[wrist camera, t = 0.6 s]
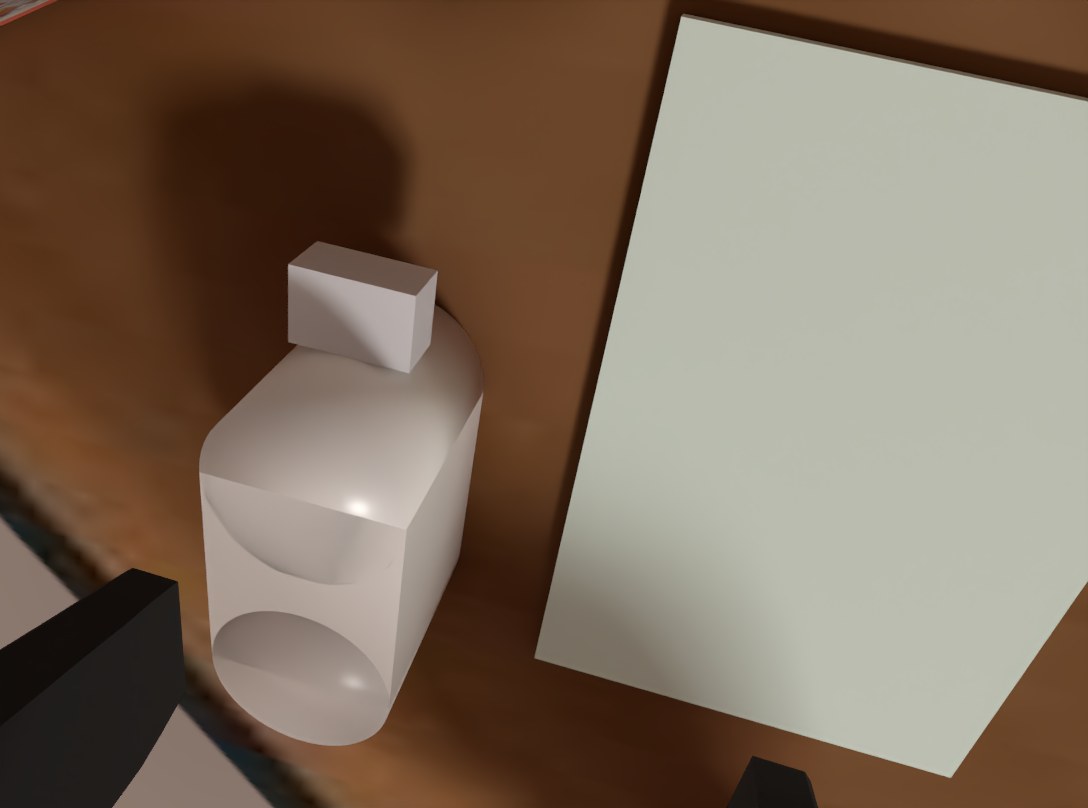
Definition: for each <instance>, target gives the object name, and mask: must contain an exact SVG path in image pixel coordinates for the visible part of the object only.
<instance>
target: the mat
mask: <svg viewBox="0 0 1088 808" xmlns="http://www.w3.org/2000/svg"><path fill="white" fill-rule="evenodd" d="M1087 581H1088V98H1085V97H1081V96H1076V95H1071V94H1066V93H1061V92H1057V91H1052V90H1047V89H1042V88H1038V87H1033V86H1028V85H1023V84H1018V83H1014V82H1009V81H1004V80H999V79H994V78H990V77H985V76H980V75H975V74H970V73H966V72H961V71H956V70H951V69H947V68H942V67H937V66H932V65H927V64H923V63H918V62H913V61H908V60H903V59H899V58H894V57H889V56H884V55H880V54H875V53H870V52H865V51H860V50H856V49H851V48H846V47H841V46H836V45H832V44H827V43H822V42H817V41H812V40H808V39H803V38H798V37H793V36H789V35H784V34H779V33H774V32H769V31H765V30H760V29H755V28H750V27H745V26H741V25H736V24H731V23H726V22H722V21H717V20H712V19H707V18H702V17H698V16H693V15H688V14H683V15H682V16H681V20H680V24H679V29H678V33H677V38H676V42H675V46H674V51H673V55H672V59H671V64H670V68H669V72H668V77H667V81H666V86H665V90H664V94H663V99H662V103H661V107H660V112H659V116H658V120H657V125H656V129H655V134H654V138H653V142H652V147H651V151H650V155H649V160H648V164H647V168H646V173H645V177H644V182H643V186H642V190H641V195H640V199H639V203H638V208H637V212H636V217H635V221H634V225H633V230H632V234H631V238H630V243H629V247H628V251H627V256H626V260H625V265H624V269H623V273H622V278H621V282H620V286H619V291H618V295H617V299H616V304H615V308H614V313H613V317H612V321H611V326H610V330H609V334H608V339H607V343H606V347H605V352H604V356H603V361H602V365H601V369H600V374H599V378H598V382H597V387H596V391H595V395H594V400H593V404H592V409H591V413H590V417H589V422H588V426H587V430H586V435H585V439H584V444H583V448H582V452H581V457H580V461H579V465H578V470H577V474H576V478H575V483H574V487H573V492H572V496H571V500H570V505H569V509H568V513H567V518H566V522H565V526H564V531H563V535H562V540H561V544H560V548H559V553H558V557H557V561H556V566H555V570H554V574H553V579H552V583H551V588H550V592H549V596H548V601H547V605H546V609H545V614H544V618H543V623H542V627H541V631H540V636H539V640H538V644H537V649H536V653H535V657H534V658H535V659H539V660H542V661H546V662H549V663H553V664H556V665H560V666H563V667H567V668H570V669H574V670H577V671H581V672H584V673H587V674H591V675H594V676H598V677H601V678H605V679H608V680H612V681H615V682H619V683H622V684H626V685H629V686H633V687H636V688H640V689H643V690H647V691H650V692H654V693H657V694H661V695H664V696H668V697H671V698H675V699H678V700H681V701H685V702H688V703H692V704H695V705H699V706H702V707H706V708H709V709H713V710H716V711H720V712H723V713H727V714H730V715H734V716H737V717H741V718H744V719H748V720H751V721H755V722H758V723H762V724H765V725H769V726H772V727H776V728H779V729H782V730H786V731H789V732H793V733H796V734H800V735H803V736H807V737H810V738H814V739H817V740H821V741H824V742H828V743H831V744H835V745H838V746H842V747H845V748H849V749H852V750H856V751H859V752H863V753H866V754H870V755H873V756H877V757H880V758H883V759H887V760H890V761H894V762H897V763H901V764H904V765H908V766H911V767H915V768H918V769H922V770H925V771H929V772H932V773H936V774H939V775H943V776H946V777H950V778H951V777H952V775H953V774H954V772H955V771H956V770H957V768H958V767H959V765H960V764H961V762H962V761H963V759H964V758H965V757H966V755H967V754H968V752H969V751H970V749H971V748H972V747H973V745H974V744H975V742H976V741H977V739H978V738H979V736H980V735H981V734H982V732H983V731H984V729H985V728H986V726H987V725H988V724H989V722H990V721H991V719H992V718H993V716H994V715H995V713H996V712H997V711H998V709H999V708H1000V706H1001V705H1002V703H1003V702H1004V701H1005V699H1006V698H1007V696H1008V695H1009V693H1010V692H1011V690H1012V689H1013V688H1014V686H1015V685H1016V683H1017V682H1018V680H1019V679H1020V678H1021V676H1022V675H1023V673H1024V672H1025V670H1026V669H1027V667H1028V666H1029V665H1030V663H1031V662H1032V660H1033V659H1034V657H1035V656H1036V654H1037V653H1038V652H1039V650H1040V649H1041V647H1042V646H1043V644H1044V643H1045V642H1046V640H1047V639H1048V637H1049V636H1050V634H1051V633H1052V631H1053V630H1054V629H1055V627H1056V626H1057V624H1058V623H1059V621H1060V620H1061V619H1062V617H1063V616H1064V614H1065V613H1066V611H1067V610H1068V608H1069V607H1070V606H1071V604H1072V603H1073V601H1074V600H1075V598H1076V597H1077V596H1078V594H1079V593H1080V591H1081V590H1082V588H1083V587H1084V585H1085V584H1086V583H1087Z"/></svg>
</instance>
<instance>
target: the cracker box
mask: <svg viewBox="0 0 1088 808" xmlns="http://www.w3.org/2000/svg"><path fill="white" fill-rule="evenodd" d="M55 1H57V0H0V26H2V25H4V24H7V23H9V22H11V21H13V20H15V19H18V18H20V17H22V16H24V15H27V14H29V13H31V12H33V11H35V10H38V9H40V8H42V7H44V6H46V5H49V4H51V3H53V2H55Z"/></svg>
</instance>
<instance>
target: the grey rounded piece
mask: <svg viewBox="0 0 1088 808" xmlns="http://www.w3.org/2000/svg"><path fill="white" fill-rule="evenodd" d="M437 274H438V270H434V269H430V268H425V267H421V266H417V265H413V264H409V263H405V262H401V261H397V260H393V259H389V258H385V257H381V256H377V255H373V254H369V253H364V252H360V251H356V250H352V249H348V248H344V247H340V246H336V245H332V244H328V243H324V242H320V241H317V242H315V243H314V244H313V245H312V246H310V247H309V248H308V249H307V250H305V251H304V252H303V253H302V254H300V255H299V256H298V257H297V258H295V259H294V260H293V261H292V262H290V263H289V264H288V342H290V343H294V344H298V345H297V346H296V347H295V348H294V349H293V350H292V351H291V352H290V353H289V354H288V355H287V356H286V357H285V358H283V359H282V360H281V361H280V362H279V363H278V364H277V365H276V366H275V367H274V368H273V369H272V370H271V371H270V372H269V373H268V374H267V375H266V376H265V377H264V378H263V379H262V380H261V381H260V382H259V383H258V384H257V385H256V386H255V387H254V388H253V389H252V390H251V391H250V392H249V393H248V394H247V395H246V396H245V397H244V398H243V399H242V400H241V401H240V402H239V403H238V404H237V405H236V406H235V407H234V408H233V409H232V410H231V411H230V412H229V413H228V414H226V415H225V416H224V417H223V418H222V419H221V420H220V421H219V422H218V423H217V424H216V426H215V427H214V428H213V429H212V430H211V431H210V433H209V434H208V436H207V438H206V439H205V441H204V444H203V447H202V450H201V454H200V460H199V476H200V490H201V504H202V518H203V532H204V546H205V560H206V574H207V588H208V603H209V617H210V631H211V645H212V657H213V663H214V667H215V670H216V673H217V675H218V677H219V679H220V681H221V683H222V684H223V686H224V687H225V689H226V690H227V692H228V693H229V694H230V695H231V697H232V698H233V699H234V700H235V701H236V702H237V703H238V704H239V705H240V706H241V707H242V708H243V709H244V710H245V711H247V712H248V713H249V714H250V715H252V716H253V717H254V718H256V719H257V720H258V721H260V722H262V723H263V724H265V725H266V726H268V727H270V728H272V729H274V730H276V731H277V732H280V733H282V734H284V735H287V736H289V737H292V738H295V739H298V740H301V741H305V742H309V743H313V744H319V745H329V746H341V745H349V744H354V743H358V742H361V741H363V740H366V739H368V738H370V737H371V736H373V735H374V734H375V733H376V732H378V731H379V730H380V729H381V727H382V726H383V724H384V723H385V721H386V719H387V716H388V714H389V712H390V710H391V708H392V705H393V703H394V701H395V699H396V697H397V694H398V692H399V690H400V688H401V686H402V683H403V681H404V679H405V677H406V675H407V672H408V670H409V668H410V666H411V664H412V661H413V659H414V657H415V655H416V653H417V650H418V648H419V646H420V644H421V642H422V639H423V637H424V635H425V633H426V631H427V628H428V626H429V624H430V622H431V620H432V617H433V615H434V613H435V611H436V609H437V606H438V604H439V602H440V600H441V598H442V595H443V593H444V591H445V589H446V587H447V584H448V582H449V580H450V578H451V576H452V573H453V571H454V569H455V567H456V564H457V562H458V559H459V555H460V548H461V542H462V535H463V528H464V521H465V514H466V507H467V500H468V493H469V487H470V480H471V473H472V466H473V459H474V452H475V445H476V438H477V431H478V425H479V418H480V411H481V404H482V397H483V388H484V377H483V369H482V364H481V361H480V358H479V355H478V352H477V350H476V348H475V346H474V344H473V342H472V340H471V339H470V337H469V336H468V334H467V333H466V331H465V330H464V329H463V328H462V327H461V326H460V324H459V323H458V322H457V321H456V320H455V319H454V318H453V317H452V316H450V315H449V314H448V313H447V312H446V311H444V310H443V309H441V308H440V307H439V306H437V305H435V304H434V303H435V293H436V284H437Z"/></svg>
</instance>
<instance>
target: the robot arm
mask: <svg viewBox="0 0 1088 808" xmlns="http://www.w3.org/2000/svg"><path fill="white" fill-rule="evenodd" d="M185 691H186V684H185V670H184V657H183V643H182V629H181V616H180V602H179V589H178V581H174V580H171V579H168V578H164V577H161V576H158V575H155V574H151V573H148V572H145V571H141V570H138V569H135V568H132V569H130V570H128V571H126V572H124V573H123V574H121V575H120V576H118V577H116V578H115V579H113V580H111V581H110V582H108V583H106V584H105V585H103V586H102V587H100V588H98V589H97V590H95V591H94V592H92V593H90V594H89V595H87V596H86V597H84V598H82V599H81V600H79V601H78V602H76V603H74V604H73V605H71V606H70V607H68V608H66V609H65V610H63V611H62V612H60V613H58V614H57V615H55V616H54V617H52V618H51V619H49V620H47V621H46V622H44V623H42V624H41V625H40V626H38V627H36V628H34V629H33V630H31V631H30V632H28V633H26V634H25V635H23V636H21V637H20V638H18V639H17V640H15V641H14V642H12V643H10V644H9V645H7V646H5V647H4V648H2V649H1V650H0V808H112V807H113V806H114V804H115V803H116V802H117V800H118V799H119V797H120V796H121V795H122V793H123V792H124V791H125V789H126V788H127V786H128V785H129V784H130V782H131V781H132V779H133V778H134V777H135V775H136V774H137V772H138V771H139V770H140V768H141V767H142V765H143V764H144V762H145V760H146V759H147V757H148V755H149V753H150V752H151V750H152V748H153V747H154V745H155V743H156V742H157V740H158V738H159V736H160V735H161V733H162V732H163V730H164V728H165V726H166V724H167V723H168V721H169V719H170V717H171V716H172V714H173V712H174V710H175V708H176V707H177V705H178V703H179V701H180V699H181V698H182V696H183V694H184V692H185ZM727 808H818V806H817V803H816V799H815V795H814V792H813V788H812V785H811V781H810V779H809V778H808V776H807V775H806V773H805V772H804V771H800V770H797V769H794V768H790V767H787V766H784V765H781V764H777V763H774V762H771V761H767V760H764V759H761V758H757V757H754V756H752V758H751V760H750V762H749V764H748V766H747V768H746V770H745V772H744V774H743V776H742V778H741V780H740V782H739V784H738V786H737V788H736V790H735V792H734V794H733V796H732V798H731V800H730V802H729V804H728V806H727Z"/></svg>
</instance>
